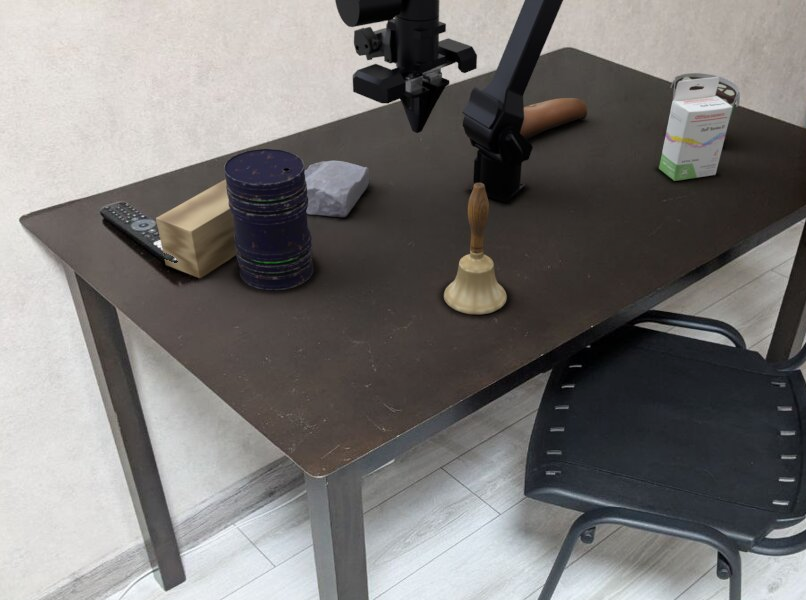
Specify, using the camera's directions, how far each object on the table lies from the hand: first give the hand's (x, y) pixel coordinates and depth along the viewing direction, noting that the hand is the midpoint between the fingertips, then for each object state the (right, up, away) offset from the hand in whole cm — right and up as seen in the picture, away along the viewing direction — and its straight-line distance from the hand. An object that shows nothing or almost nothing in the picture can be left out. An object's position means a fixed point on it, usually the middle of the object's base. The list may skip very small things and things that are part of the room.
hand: (416, 131), depth 127 cm
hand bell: (+8, -24, -6) cm, 26 cm away
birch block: (-27, -17, -1) cm, 32 cm away
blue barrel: (-18, -20, -4) cm, 28 cm away
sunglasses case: (+18, +12, +35) cm, 41 cm away
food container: (+48, +11, +36) cm, 61 cm away
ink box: (+43, +1, +25) cm, 50 cm away
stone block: (-14, -6, +11) cm, 19 cm away
